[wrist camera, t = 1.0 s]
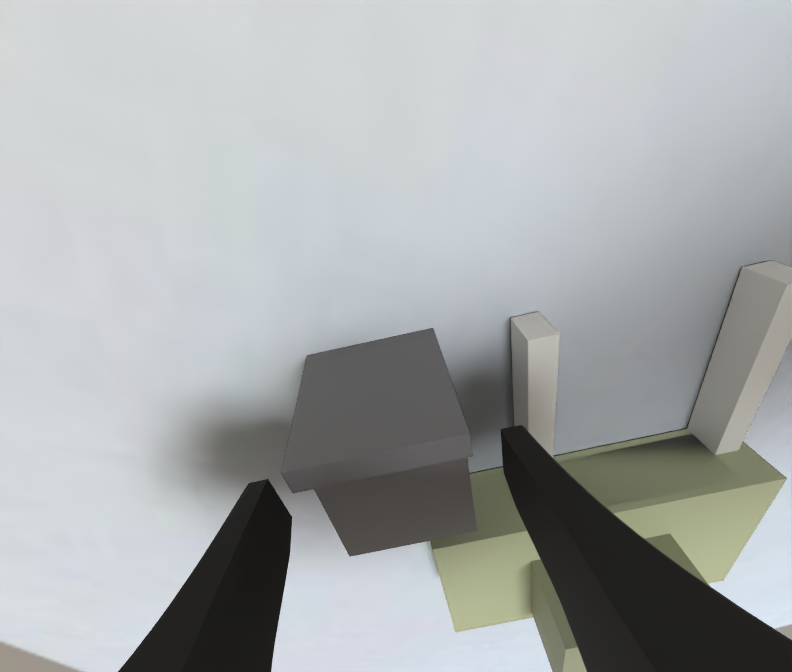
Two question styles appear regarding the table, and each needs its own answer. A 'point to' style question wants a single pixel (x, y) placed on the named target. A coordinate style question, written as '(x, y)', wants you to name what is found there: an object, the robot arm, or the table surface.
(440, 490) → the grey overhanging lid block
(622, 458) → the green post base
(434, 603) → the table surface
